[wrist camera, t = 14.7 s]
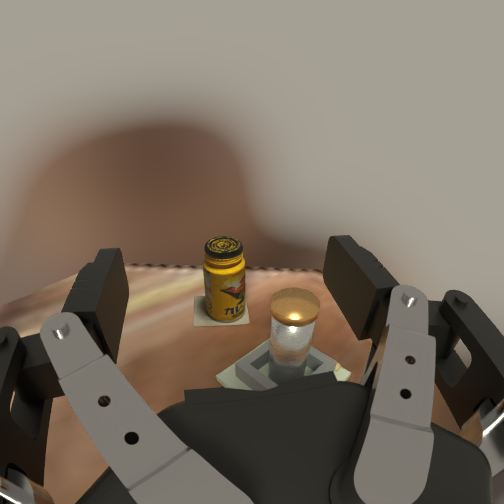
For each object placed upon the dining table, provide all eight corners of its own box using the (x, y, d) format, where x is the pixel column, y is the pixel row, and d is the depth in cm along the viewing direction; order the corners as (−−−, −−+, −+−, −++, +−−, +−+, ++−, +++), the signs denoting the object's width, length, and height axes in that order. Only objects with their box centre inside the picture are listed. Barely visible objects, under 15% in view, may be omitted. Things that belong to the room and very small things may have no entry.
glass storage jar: (257, 377, 35) (260, 302, 29) (283, 356, 38) (291, 282, 32) (287, 399, 32) (299, 326, 26) (312, 375, 35) (329, 301, 29)
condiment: (250, 324, 45) (250, 254, 39) (193, 327, 44) (184, 258, 38) (244, 295, 51) (244, 230, 45) (194, 297, 50) (187, 233, 44)
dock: (216, 380, 35) (214, 362, 34) (280, 334, 43) (282, 316, 41) (289, 439, 28) (293, 425, 26) (349, 377, 36) (355, 360, 34)
